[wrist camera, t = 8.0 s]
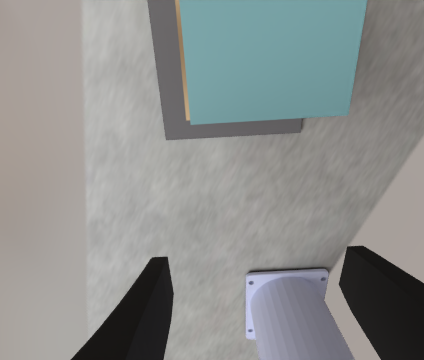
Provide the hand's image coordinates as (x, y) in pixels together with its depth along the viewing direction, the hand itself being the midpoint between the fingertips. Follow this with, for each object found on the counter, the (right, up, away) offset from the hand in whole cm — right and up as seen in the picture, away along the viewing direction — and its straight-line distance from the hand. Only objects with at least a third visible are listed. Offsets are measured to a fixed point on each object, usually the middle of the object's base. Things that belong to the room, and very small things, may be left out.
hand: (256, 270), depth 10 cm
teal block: (0, +9, 0) cm, 9 cm away
